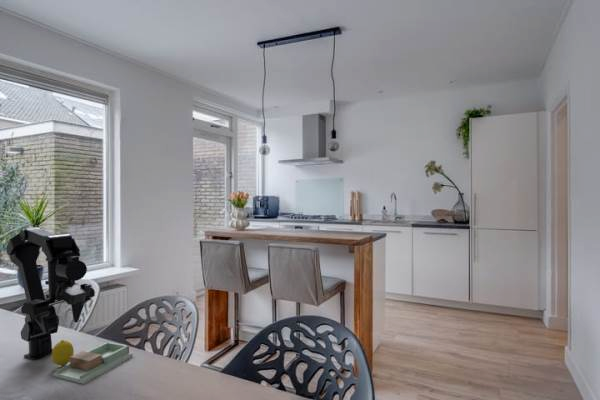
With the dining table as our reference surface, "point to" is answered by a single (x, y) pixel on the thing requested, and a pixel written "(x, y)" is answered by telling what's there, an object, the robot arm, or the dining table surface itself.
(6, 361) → the dining table surface
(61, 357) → the lemon
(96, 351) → the tray
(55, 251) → the robot arm
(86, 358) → the tan rectangular block
